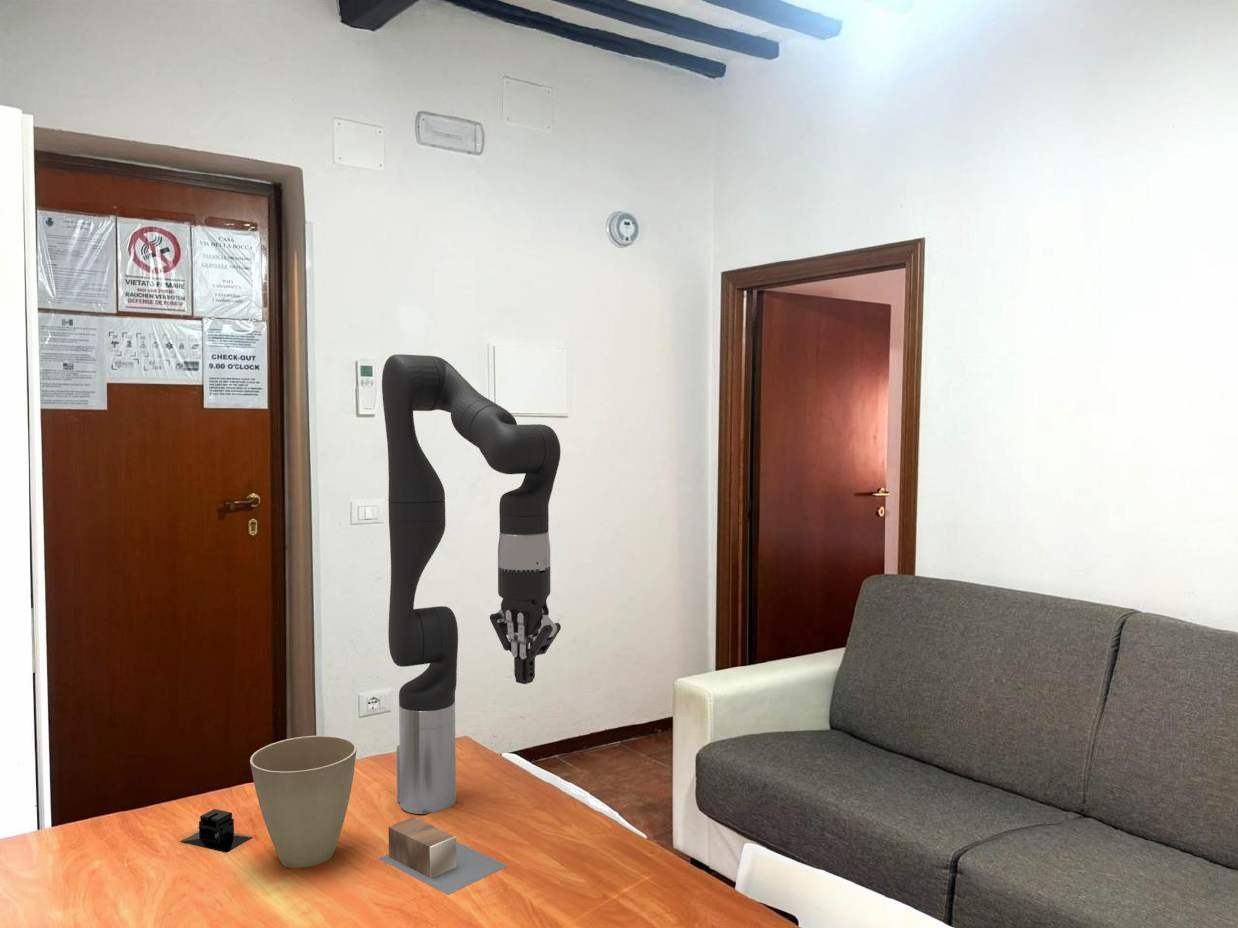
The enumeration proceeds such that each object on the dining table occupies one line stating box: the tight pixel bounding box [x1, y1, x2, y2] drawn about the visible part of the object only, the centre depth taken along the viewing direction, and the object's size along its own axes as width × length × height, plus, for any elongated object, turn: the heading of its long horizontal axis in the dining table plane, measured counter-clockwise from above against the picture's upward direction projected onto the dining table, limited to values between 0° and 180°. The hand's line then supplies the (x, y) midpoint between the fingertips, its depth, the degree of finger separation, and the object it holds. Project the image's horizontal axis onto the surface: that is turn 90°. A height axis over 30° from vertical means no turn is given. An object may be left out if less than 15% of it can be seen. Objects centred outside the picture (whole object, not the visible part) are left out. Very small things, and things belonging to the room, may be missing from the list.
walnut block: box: [388, 817, 457, 879], centre depth 139 cm, size 4×4×10 cm
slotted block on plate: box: [179, 808, 253, 854], centre depth 147 cm, size 12×7×5 cm, turn 68°
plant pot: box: [249, 735, 358, 869], centre depth 141 cm, size 15×15×16 cm
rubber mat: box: [378, 841, 509, 896], centre depth 139 cm, size 16×11×1 cm
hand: (524, 682), depth 138 cm, fingers closed
